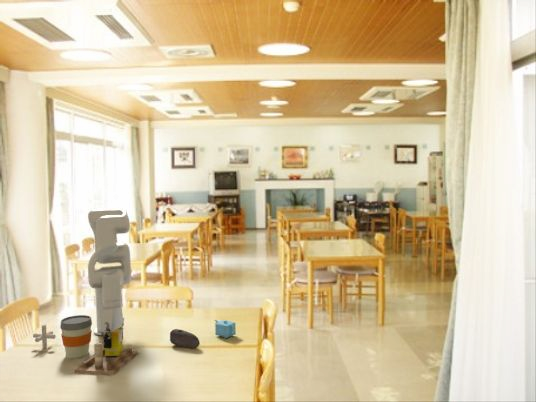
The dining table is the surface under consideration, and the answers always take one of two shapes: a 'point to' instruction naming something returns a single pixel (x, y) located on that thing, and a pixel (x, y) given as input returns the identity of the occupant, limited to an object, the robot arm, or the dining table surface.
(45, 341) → the pipe connector
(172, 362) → the dining table surface
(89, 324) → the reusable coffee cup
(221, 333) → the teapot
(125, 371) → the dining table surface
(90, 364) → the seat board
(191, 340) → the perforated stone tool
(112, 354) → the supplement box
